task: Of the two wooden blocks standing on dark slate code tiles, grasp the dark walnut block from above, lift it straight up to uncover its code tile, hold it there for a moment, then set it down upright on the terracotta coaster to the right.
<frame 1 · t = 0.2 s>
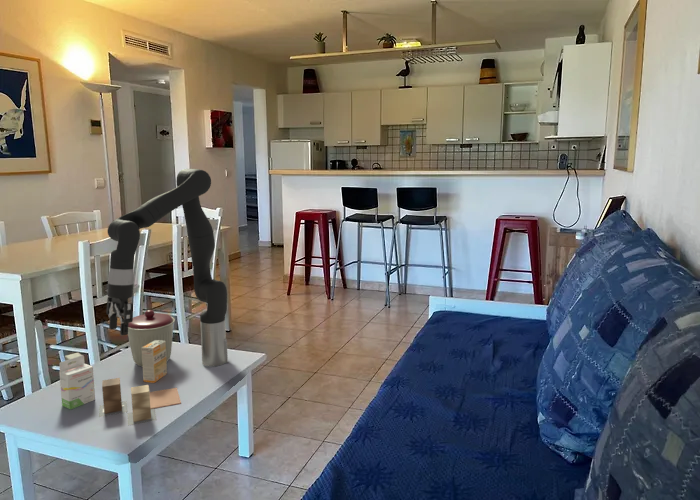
hand: (118, 331, 162), 23 cm above the table, tool pointing down, fingers open, 8 cm apart
ink box: (79, 403, 163), on the table
oak block: (141, 416, 154), resting on code tile b
supplement box: (155, 378, 182), on the table
code tile a: (113, 409, 159), on the table
code tile b: (141, 416, 155), on the table
skincare box: (78, 389, 172), on the table
canister: (152, 362, 196), on the table
walnut block: (113, 408, 159), resting on code tile a
coaster: (159, 399, 166), on the table
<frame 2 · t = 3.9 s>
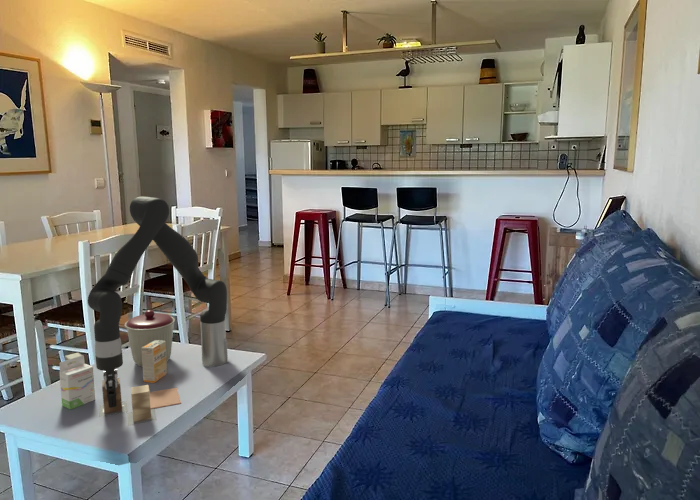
hand: (112, 402, 159), 2 cm above the table, tool pointing down, fingers closed on walnut block, 5 cm apart
walnut block: (113, 408, 159), resting on code tile a, touching gripper
everything else where it was.
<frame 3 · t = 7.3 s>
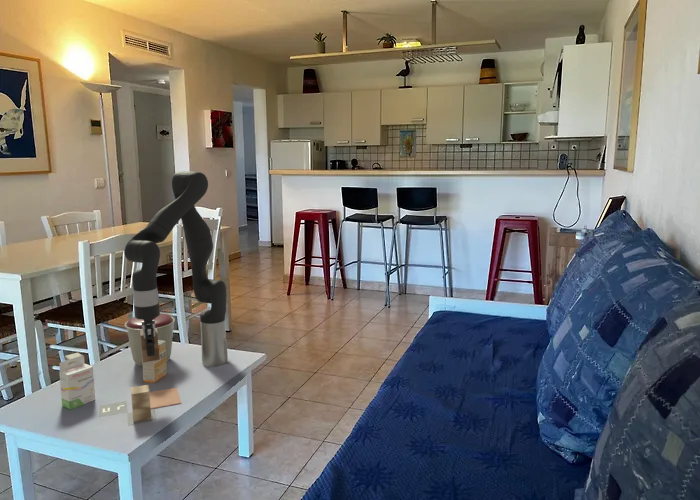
hand: (150, 352, 163), 17 cm above the table, tool pointing down, fingers closed on walnut block, 5 cm apart
walnut block: (150, 358, 163), point 15 cm above the table, touching gripper
everything else where it was.
when the fingers open (4 cm above the table, at t = 10.9 s): walnut block drops 1 cm, resting on coaster.
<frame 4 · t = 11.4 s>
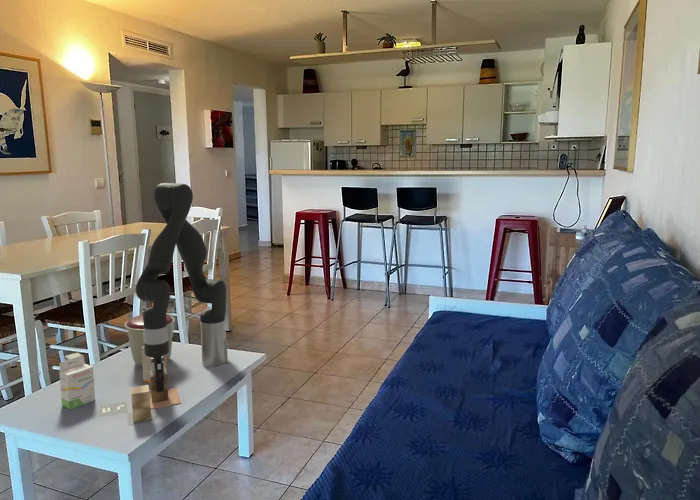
hand: (159, 386, 165), 5 cm above the table, tool pointing down, fingers open, 8 cm apart
walnut block: (159, 398, 166), resting on coaster
everything else where it was.
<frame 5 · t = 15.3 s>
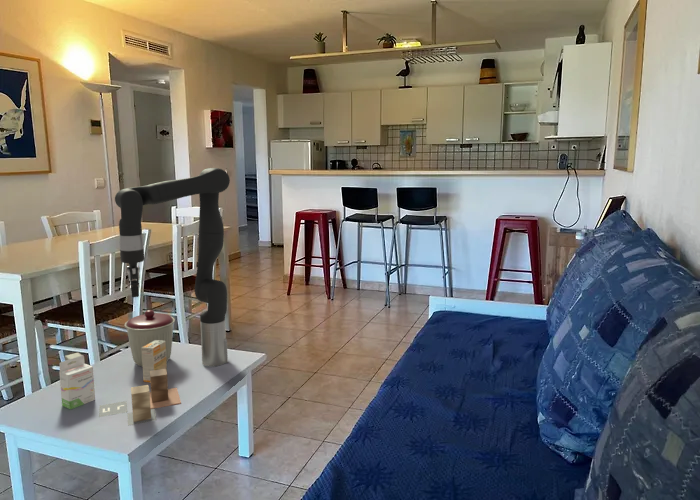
hand: (135, 293, 174), 32 cm above the table, tool pointing down, fingers open, 8 cm apart
nothing on the table moved.
at the end: walnut block inside the target area on the coaster (0.0 cm from its centre), point 0.4 cm above the coaster's base; walnut block tilted 0°; walnut block touching coaster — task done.
